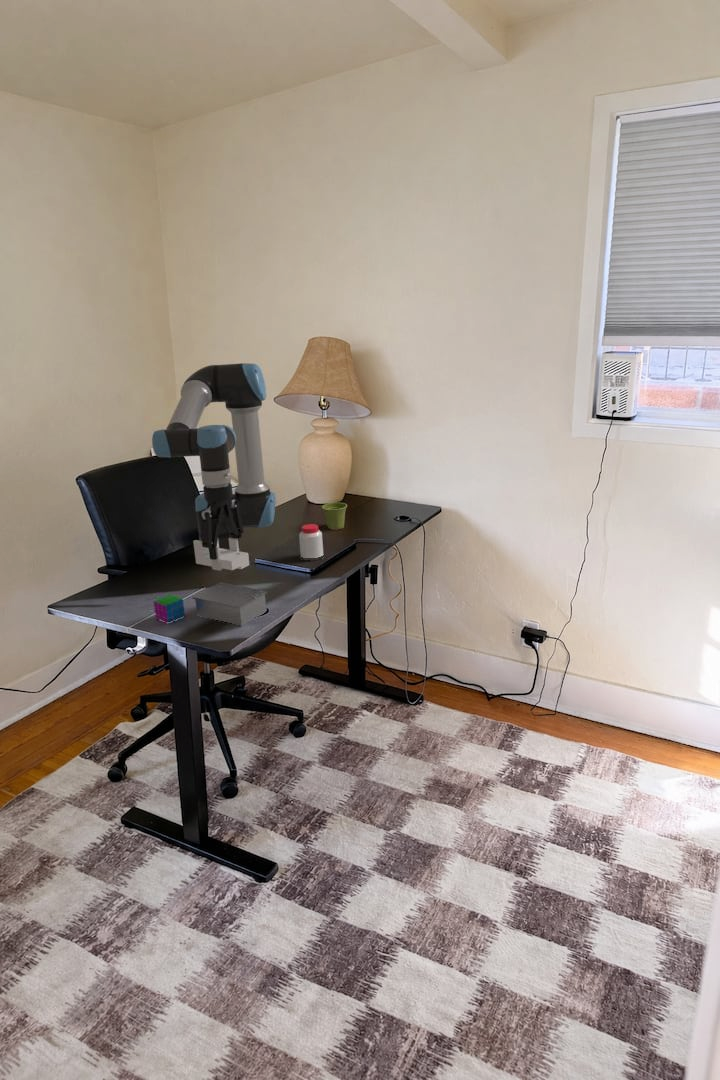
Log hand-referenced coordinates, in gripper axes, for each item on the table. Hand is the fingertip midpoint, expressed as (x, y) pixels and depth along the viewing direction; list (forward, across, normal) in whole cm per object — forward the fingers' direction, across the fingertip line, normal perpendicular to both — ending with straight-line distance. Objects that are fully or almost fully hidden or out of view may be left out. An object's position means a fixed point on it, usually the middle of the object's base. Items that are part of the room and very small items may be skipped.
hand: (226, 564), depth 202 cm
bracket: (+1, 0, +1) cm, 2 cm away
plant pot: (+15, +79, +15) cm, 82 cm away
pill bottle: (+15, +48, +5) cm, 51 cm away
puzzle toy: (+15, -10, +14) cm, 23 cm away
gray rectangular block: (+15, 0, 0) cm, 15 cm away
